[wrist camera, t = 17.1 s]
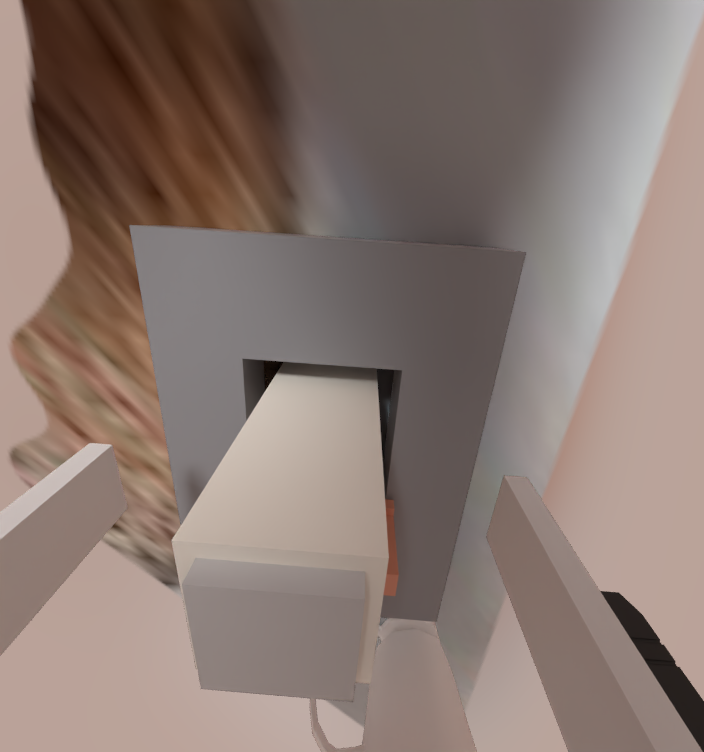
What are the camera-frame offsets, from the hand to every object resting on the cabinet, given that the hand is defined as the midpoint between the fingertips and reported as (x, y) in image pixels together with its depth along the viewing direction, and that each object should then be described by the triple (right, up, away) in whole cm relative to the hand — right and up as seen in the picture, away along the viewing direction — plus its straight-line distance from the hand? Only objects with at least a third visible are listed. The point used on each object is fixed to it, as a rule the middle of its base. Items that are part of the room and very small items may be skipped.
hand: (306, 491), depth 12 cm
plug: (0, +3, +6) cm, 7 cm away
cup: (+4, -14, +13) cm, 20 cm away
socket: (0, +1, +7) cm, 7 cm away
